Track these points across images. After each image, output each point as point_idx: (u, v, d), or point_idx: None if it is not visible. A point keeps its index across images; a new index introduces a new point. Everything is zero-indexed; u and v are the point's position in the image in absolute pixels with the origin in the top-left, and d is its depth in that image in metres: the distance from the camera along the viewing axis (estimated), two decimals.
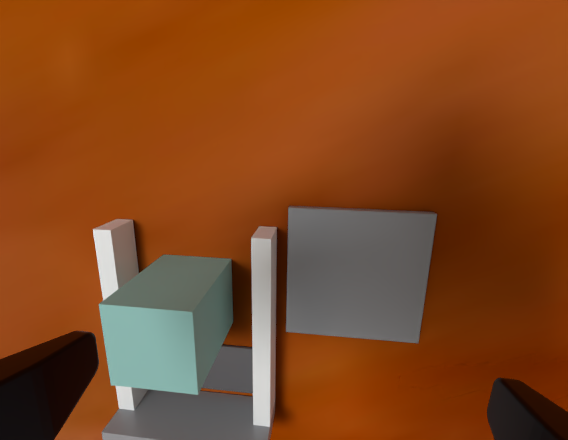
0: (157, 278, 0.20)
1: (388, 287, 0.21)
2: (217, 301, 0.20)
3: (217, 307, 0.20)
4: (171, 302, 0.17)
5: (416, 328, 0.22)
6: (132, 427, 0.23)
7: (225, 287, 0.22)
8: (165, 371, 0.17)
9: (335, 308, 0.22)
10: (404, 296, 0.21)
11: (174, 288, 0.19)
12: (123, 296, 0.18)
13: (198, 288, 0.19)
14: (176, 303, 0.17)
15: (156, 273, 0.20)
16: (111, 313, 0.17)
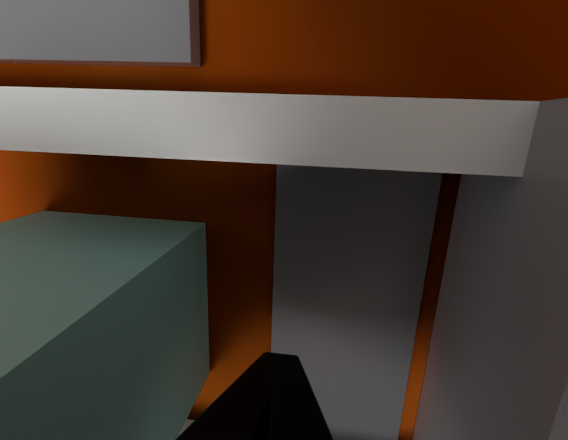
0: None
1: None
2: None
3: None
4: None
5: None
6: None
7: (42, 229, 0.08)
8: None
9: None
10: None
11: None
12: None
13: None
14: None
15: None
16: None
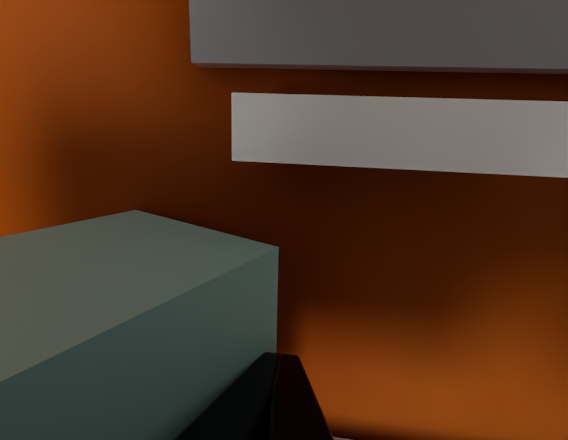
0: None
1: None
2: (16, 256, 0.06)
3: (33, 260, 0.06)
4: None
5: None
6: None
7: (108, 232, 0.07)
8: None
9: None
10: None
11: None
12: None
13: None
14: None
15: None
16: None
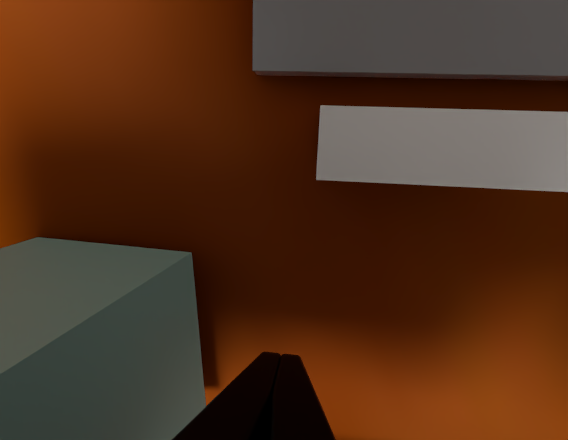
0: None
1: None
2: None
3: None
4: None
5: None
6: None
7: (16, 262, 0.08)
8: None
9: None
10: None
11: None
12: None
13: None
14: None
15: None
16: None
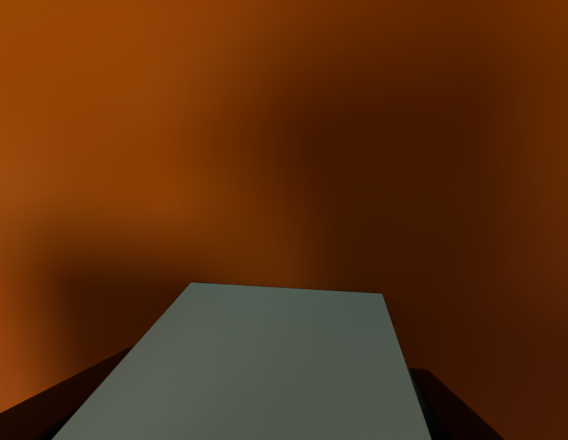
0: (186, 397, 0.05)
1: None
2: None
3: None
4: None
5: None
6: None
7: None
8: None
9: None
10: None
11: None
12: None
13: None
14: None
15: (181, 362, 0.06)
16: None
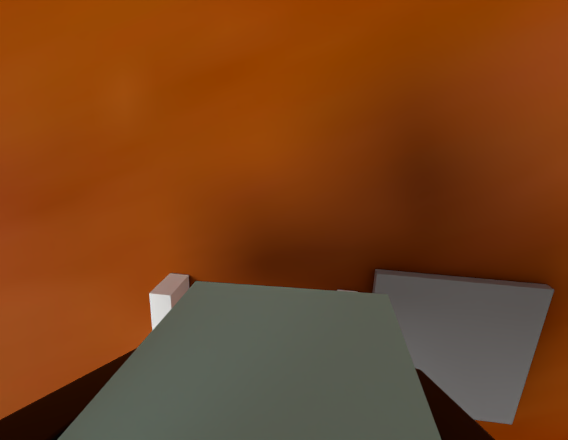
0: (193, 396, 0.05)
1: (485, 365, 0.19)
2: None
3: None
4: None
5: (511, 409, 0.19)
6: None
7: None
8: None
9: None
10: (502, 375, 0.19)
11: None
12: None
13: None
14: None
15: (187, 361, 0.06)
16: None
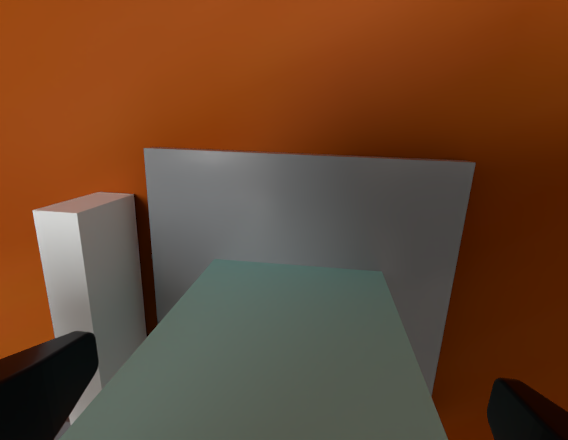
0: (225, 339, 0.06)
1: None
2: None
3: None
4: None
5: None
6: None
7: None
8: None
9: None
10: None
11: (304, 391, 0.05)
12: None
13: (389, 389, 0.05)
14: None
15: (216, 317, 0.07)
16: None
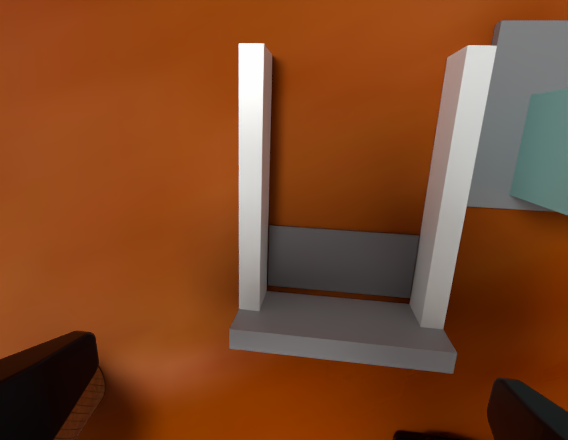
0: None
1: None
2: None
3: None
4: None
5: None
6: (266, 325, 0.18)
7: None
8: None
9: None
10: None
11: None
12: None
13: None
14: None
15: None
16: None
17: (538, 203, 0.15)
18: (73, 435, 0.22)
